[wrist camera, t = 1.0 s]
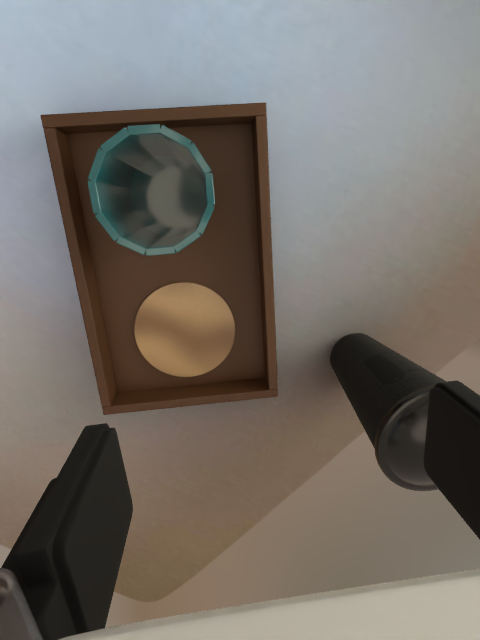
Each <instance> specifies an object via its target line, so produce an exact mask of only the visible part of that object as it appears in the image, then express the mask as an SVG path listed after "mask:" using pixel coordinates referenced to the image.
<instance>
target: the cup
mask: <svg viewBox="0 0 480 640" xmlns="http://www.w3.org/2000/svg"><path fill="white" fill-rule="evenodd" d="M100 148H101V149H102V150H101V149H99V148H98V150H97V153H96V156H95V159H94V161H93V164H92V167H91V170H90V173H89V176H88V179H89V180H91V181H88V182H87V183H88V188H89V193H90V199H91V204H92V210H93V213H94V214H96V215H95V217H96V219H97V220H98V221H99V223H100V224H101V225H102V226H103V228H104V229H105V230H106V231H107V233H108V234H109V235H110V237H111V238H112V239H113V240H114V241H116V240H117V241H116V243H118V244H120V245H122V246H124V247H126V248H129V249H131V250H133V251H135V252H137V253H140V254H142V255H145V254H146V256H152V255H165V254H175V253H176V252H177V253H178V252H180V251H181V250H182V249H184V248H185V247H187V246H188V245H189V244H191V243H192V242H194V241H195V240H197V239H198V238H199V237H201V234H203V232H204V230H205V228H206V226H207V223H208V221H209V219H210V217H211V215H212V212H213V210H214V208H215V207H214V206H212V205H215V196H214V185H213V174H212V173H211V169H210V167H209V166H208V164H207V162H206V161H205V159H204V158H203V156H202V155H201V153H200V152H199V150H198V148H197V147H196V145H195V144H194V143H192V141H191V140H190V139H188V138H186V137H184V136H182V135H180V134H179V133H177V132H175V131H173V130H171V129H169V128H167V127H166V126H164V125H162V126H160V124H153V125H136V126H127V128H126V127H124V128H123V129H122V130H120V131H119V132H118V133H116V134H115V135H114V136H112V137H111V138H110V139H108V140H107V141H106V142H104V143H103V144H102V145H101V146H100Z"/></svg>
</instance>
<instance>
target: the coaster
mask: <svg viewBox="0 0 480 640" xmlns="http://www.w3.org/2000/svg"><path fill="white" fill-rule="evenodd" d="M134 332H135V339H136V343H137V345H138V348H139V350H140V352H141V353H142V355H143V356H144V357H145V359H146V360H147V361H148V362H149V363H150V364H151V365H153V366H154V367H155V368H157V369H158V370H160V371H162V372H164V373H167V374H170V375H174V376H179V377H192V376H198V375H201V374H204V373H207V372H209V371H211V370H212V369H214V368H215V367H217V366H218V365H219V364H220V363H221V362H222V361H224V359H225V358H226V357H227V355H228V354H229V352H230V350H231V348H232V346H233V342H234V338H235V322H234V318H233V315H232V312H231V310H230V308H229V306H228V305H227V303H226V302H225V301H224V299H223V298H222V297H221V296H220V295H219V294H217V293H216V292H215V291H213V290H212V289H210V288H208V287H206V286H204V285H201V284H197V283H193V282H176V283H171V284H168V285H165V286H163V287H160V288H159V289H157V290H155V291H154V292H153V293H151V294H150V295H149V296H148V297H147V298H146V299H145V300H144V302H143V303H142V305H141V306H140V308H139V310H138V312H137V315H136V319H135V325H134Z"/></svg>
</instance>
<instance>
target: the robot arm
mask: <svg viewBox="0 0 480 640" xmlns="http://www.w3.org/2000/svg"><path fill="white" fill-rule="evenodd" d="M424 468H425V471H426V473H427V475H428V476H429V477H430V479H431V480H432V481H433V482H434V484H435V485H436V486H437V487H438V489H439V490H440V491H441V492H442V493H443V495H444V496H445V497H446V498H447V500H448V501H449V502H450V503H451V505H452V506H453V507H454V508H455V509H456V511H457V512H458V513H459V514H460V515H461V517H462V518H463V519H464V521H465V522H466V523H467V524H468V525H469V527H470V528H471V529H472V530H473V532H474V533H475V534H476V535H477V537H478V538H479V539H480V396H479V395H478V394H476V393H475V392H474V391H472V390H471V389H469V388H468V387H467V386H465V385H464V384H462V383H461V382H459V381H449V382H441V383H437V384H436V385H435V386H434V388H432V389H431V390H430V393H429V404H428V416H427V428H426V440H425V451H424ZM132 511H133V505H132V499H131V494H130V490H129V485H128V481H127V477H126V472H125V468H124V463H123V459H122V454H121V450H120V446H119V441H118V437H117V432H116V429H115V428H109V426H108V424H106V423H105V424H97V425H89V426H86V427H85V428H84V429H83V431H82V433H81V435H80V437H79V438H78V440H77V442H76V444H75V446H74V447H73V449H72V451H71V453H70V455H69V457H68V458H67V460H66V462H65V464H64V466H63V467H62V469H61V471H60V473H59V475H58V476H57V478H54V479H53V480H52V481H51V482H50V483H49V485H48V486H47V488H46V490H45V492H44V493H43V495H42V497H41V499H40V500H39V502H38V504H37V506H36V507H35V509H34V511H33V513H32V514H31V516H30V518H29V520H28V522H27V523H26V525H25V527H24V529H23V530H22V532H21V534H20V536H19V537H18V539H17V541H16V543H15V544H14V546H13V548H12V550H11V552H10V553H9V555H8V557H7V559H6V560H5V562H4V564H3V566H2V567H1V568H0V640H480V569H475V570H468V571H461V572H454V573H447V574H440V575H433V576H426V577H420V578H413V579H406V580H400V581H393V582H386V583H380V584H374V585H367V586H360V587H353V588H347V589H340V590H334V591H327V592H321V593H314V594H308V595H301V596H294V597H288V598H282V599H276V600H269V601H264V602H257V603H250V604H244V605H238V606H232V607H225V608H219V609H213V610H206V611H200V612H193V613H187V614H181V615H175V616H170V617H164V618H158V619H153V620H147V621H141V622H136V623H131V624H124V625H119V626H113V627H108V628H105V625H106V621H107V617H108V612H109V608H110V604H111V600H112V596H113V592H114V588H115V584H116V579H117V575H118V571H119V567H120V563H121V559H122V555H123V551H124V546H125V542H126V538H127V534H128V530H129V526H130V522H131V518H132Z"/></svg>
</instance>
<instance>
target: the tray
mask: <svg viewBox="0 0 480 640" xmlns="http://www.w3.org/2000/svg"><path fill="white" fill-rule="evenodd" d="M41 120H42V125H43V128H44V133H45V138H46V143H47V148H48V152H49V157H50V162H51V167H52V171H53V176H54V181H55V186H56V190H57V195H58V200H59V205H60V209H61V214H62V219H63V224H64V228H65V233H66V238H67V243H68V248H69V252H70V257H71V262H72V267H73V271H74V276H75V281H76V286H77V290H78V295H79V300H80V305H81V309H82V314H83V319H84V324H85V328H86V333H87V338H88V343H89V347H90V352H91V357H92V362H93V366H94V371H95V376H96V381H97V385H98V390H99V395H100V400H101V405H102V409H103V414H104V415H106V414H116V413H126V412H135V411H145V410H154V409H164V408H173V407H183V406H192V405H202V404H211V403H221V402H230V401H240V400H250V399H259V398H269V397H277V396H278V389H277V388H278V385H277V361H276V336H275V312H274V287H273V263H272V238H271V214H270V190H269V165H268V141H267V117H266V103H249V104H231V105H213V106H195V107H177V108H159V109H141V110H122V111H104V112H86V113H68V114H50V115H41ZM153 124H160V126H162V125H164V126H166V127H167V128H169V129H171V130H173V131H175V132H177V133H179V134H180V135H182V136H184V137H186V138H188V139H190V140H191V141H192V143H194V144H195V145H196V147H197V148H198V150H199V152H200V153H201V155H202V156H203V158H204V159H205V161H206V162H207V164H208V166H209V167H210V169H211V173H212V174H213V185H214V196H215V205H212V206H214V207H215V208H214V210H213V212H212V215H211V217H210V219H209V221H208V223H207V226H206V228H205V230H204V232H203V234H201V237H199V238H198V239H197V240H195V241H194V242H192V243H191V244H189V245H188V246H187V247H185V248H184V249H182V250H181V251H180V252H178V253H177V252H176V253H175V254H165V255H152V256H146V254H145V255H142V254H140V253H137V252H135V251H133V250H131V249H129V248H126V247H124V246H122V245H120V244H118V243H116V241H117V240H116V241H114V240H113V239H112V238H111V237H110V235H109V234H108V233H107V231H106V230H105V229H104V228H103V226H102V225H101V224H100V223H99V221H98V220H97V219H96V217H95V215H96V214H94V213H93V210H92V204H91V199H90V193H89V188H88V183H87V182H88V181H91V180H89V179H88V176H89V173H90V170H91V167H92V164H93V161H94V159H95V156H96V153H97V150H98V148H99V149H101V148H100V146H101V145H102V144H103V143H104V142H106V141H107V140H108V139H110V138H111V137H112V136H114V135H115V134H116V133H118V132H119V131H120V130H122V129H123V128H124V127H126V128H127V126H136V125H153ZM101 150H102V149H101ZM176 282H193V283H197V284H201V285H204V286H206V287H208V288H210V289H212V290H213V291H215V292H216V293H217V294H219V295H220V296H221V297H222V298H223V299H224V301H225V302H226V303H227V305H228V306H229V308H230V310H231V312H232V315H233V318H234V322H235V338H234V342H233V346H232V348H231V350H230V352H229V354H228V355H227V357H226V358H225V359H224V361H222V362H221V363H220V364H219V365H218V366H217V367H215V368H214V369H212V370H211V371H209V372H207V373H204V374H201V375H198V376H192V377H179V376H174V375H170V374H167V373H164V372H162V371H160V370H158V369H157V368H155V367H154V366H153V365H151V364H150V363H149V362H148V361H147V360H146V359H145V357H144V356H143V355H142V353H141V352H140V350H139V348H138V345H137V343H136V339H135V332H134V325H135V319H136V315H137V312H138V310H139V308H140V306H141V305H142V303H143V302H144V300H145V299H146V298H147V297H148V296H149V295H150V294H151V293H153V292H154V291H155V290H157V289H159V288H160V287H163V286H165V285H168V284H171V283H176Z"/></svg>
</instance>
